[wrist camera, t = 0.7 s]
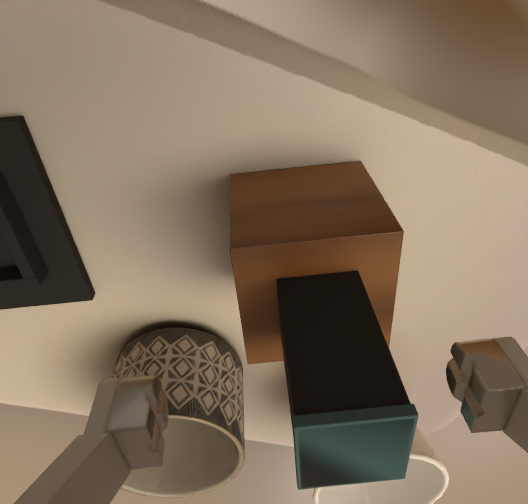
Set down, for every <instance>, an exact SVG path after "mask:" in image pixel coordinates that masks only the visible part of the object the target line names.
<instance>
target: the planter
mask: <svg viewBox="0 0 528 504" xmlns="http://www.w3.org/2000/svg"><path fill="white" fill-rule="evenodd" d="M148 375H159V377H160V380H161V382H162V383H161V390H162V391H164V392H165V393H166V396H167V400H168V412H169V417H168V426H167V428H166V429H165V430H164V431H163V433H162V434H163V437H164V440H165V449H164V456H163V463H162V466H156V467H149V468H141V469H134V470H130V471H131V473H130V474H129V476H128V477H127V479H126V480H125V482H124V483H123V484H122V486H121V487H120V488H121V489H123V490H126V491H128V492H132V493H136V494H139V495H144V496H150V497H161V498H178V497H188V496H194V495H199V494H203V493H206V492H209V491H212V490H215V489H217V488H219V487H221V486H223V485H225V484H227V483H228V482H230V481H231V480H232V479H233V478H235V477H236V476H237V474H238V473H239V472H240V470H241V469H242V467H243V464H244V460H245V451H244V450H245V448H244V404H243V368H242V364H241V361H240V358H239V357H238V355H237V353H236V352H235V351H234V349H233V348H232V347H231V346H230V345H228V344H227V343H226V342H225V341H223V340H222V339H220V338H218V337H216V336H214V335H212V334H210V333H207V332H204V331H200V330H196V329H191V328H164V329H158V330H154V331H150V332H148V333H145V334H143V335H141V336H139V337H137V338H135V339H134V340H132V341H131V342H130V343H128V344H127V345H126V346H125V347H124V349H123V350H122V351H121V353H120V354H119V356H118V359H117V362H116V365H115V368H114V372H113V376H112V378H123V377H135V376H148Z"/></svg>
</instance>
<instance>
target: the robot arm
mask: <svg viewBox="0 0 528 504" xmlns="http://www.w3.org/2000/svg"><path fill="white" fill-rule="evenodd" d="M451 354H452V356H453V358H452V359H451V360H450V361H449V362H448V363H447V368H446V375H447V382H448V385H449V388H450V390H451V392H452V394H453V396H454V397H455V398H457V399H458V400H459V401H461V402H462V407H461V410H460V411H461V413H462V415H463V416H464V419H465V421H466V423H467V425H468V427H469V429H470V431H471V432H472V433H475V432H487V431H501V430H504V431H503V432H504V433H505V434H506V435H507V436H509V437H510V438H511V439H512V440H513V441H515V442H516V443H517V444H518V445H519V446H520V447H522V448H523V449H524V450H525V451H526V452H527V453H528V357H527V355H526V354H525V353H524V351H523V350H522V349H521V347H520V346H519V344H518V343H517V342H516V340H515V339H513V338H512V337H502V338H493V339H481V340H472V341H464V342H456V343H454V344H453V345H452V348H451ZM161 383H162V382H161V380H160V377H159V375H148V376H135V377H123V378H112V379H102V381H101V382H100V384H99V385H98V389H97V392H96V395H95V399H94V402H93V405H92V409H91V412H90V415H89V419H88V422H87V425H86V428H85V432H84V435H79V436H77V437H76V438H75V439H74V441H73V442H72V443H71V444H70V445H69V446H68V447H67V448H66V449H65V450H64V451H63V452H62V453H61V454H60V455H59V456H58V457H57V458H56V460H55V461H54V462H53V463H52V464H51V465H50V466H49V467H48V468H47V469H46V470H45V471H44V472H43V473H42V474H41V475H40V476H39V477H38V479H37V480H36V481H35V482H34V483H33V484H32V485H31V486H30V487H29V488H28V489H27V490H26V491H25V492H24V493H23V494H22V495H21V497H20V498H19V499H18V500H17V501H16V502H15V503H14V504H110V502H111V501H112V499H113V498H114V496H115V495H116V493H117V492H118V490H119V489H120V487H121V486H122V484H123V483H124V482H125V480H126V479H127V477H128V476H129V474H130V473H131V471H130V470H134V469H141V468H149V467H156V466H162V463H163V456H164V449H165V440H164V437H163V434H162V433H163V431H164V430H165V429H166V428H167V426H168V417H169V412H168V400H167V396H166V393H165V392H164V391H162V390H161Z"/></svg>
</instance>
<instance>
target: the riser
mask: <svg viewBox="0 0 528 504" xmlns="http://www.w3.org/2000/svg"><path fill="white" fill-rule="evenodd" d="M403 233H404V231H403V229H402V228H401V226H400V224H399V223H398V221H397V219H396V218H395V216H394V214H393V213H392V211H391V210H390V208H389V206H388V205H387V203H386V201H385V200H384V198H383V196H382V195H381V193H380V191H379V190H378V188H377V187H376V185H375V183H374V182H373V180H372V178H371V177H370V175H369V173H368V172H367V170H366V168H365V167H364V165H363V164H362V162H361V161H358V162H348V163H339V164H329V165H319V166H309V167H299V168H289V169H279V170H269V171H259V172H249V173H239V174H231V189H230V253H231V260H232V266H233V272H234V279H235V285H236V292H237V298H238V304H239V311H240V317H241V324H242V330H243V337H244V343H245V349H246V356H247V362H248V364H255V363H265V362H275V361H284V356H283V348H282V340H281V330H280V318H279V306H278V294H277V282H276V280H277V279H279V278H289V277H299V276H309V275H319V274H329V273H339V272H349V271H359V274H360V276H361V279H362V281H363V284H364V286H365V289H366V291H367V294H368V297H369V299H370V302H371V304H372V307H373V309H374V312H375V314H376V317H377V320H378V322H379V325H380V327H381V330H382V332H383V335H384V337H385V340H386V342H387V345H388V348H389V343H390V335H391V327H392V319H393V311H394V304H395V296H396V288H397V280H398V272H399V264H400V256H401V249H402V241H403Z"/></svg>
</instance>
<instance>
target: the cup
mask: <svg viewBox="0 0 528 504" xmlns="http://www.w3.org/2000/svg"><path fill="white" fill-rule="evenodd" d="M448 481H449V475H448V473H447V470H446V468H445V466H444V465H442V464H441V462H440V461H439V460H438V458H437V456H436V455H435V453H434V452H433V450H432V448H431V447H430V445H429V444H428V442H427V441H426V439H425V437H424V436H423V434H422V433H421V431H420V430H419V428H418V427H417V425H416V429H415V434H414V438H413V443H412V448H411V452H410V457H409V462H408V466H407V471H406V476H405V479H399V480H389V481H379V482H369V483H359V484H350V485H340V486H330V487H320V488H314V492H313V499H314V503H315V504H432V503H434V502H435V501H436V500H437V499H438V498H440V497H441V496H442V494H443V493H444V491H445V490H446V488H447V486H448Z"/></svg>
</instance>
